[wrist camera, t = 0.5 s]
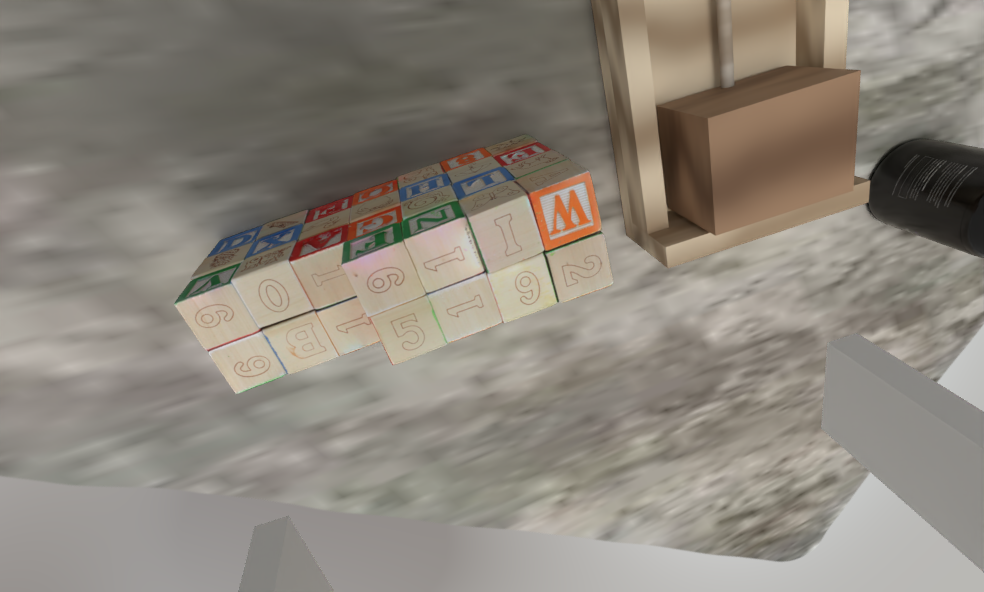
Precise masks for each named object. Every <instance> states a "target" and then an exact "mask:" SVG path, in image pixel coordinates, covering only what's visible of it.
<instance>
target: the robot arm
mask: <svg viewBox="0 0 984 592" xmlns="http://www.w3.org/2000/svg"><path fill="white" fill-rule="evenodd" d="M821 429H822V430H824V431H825V432H826V433H827V434H828V435H829V436H830V437H831V438H833V439H834V440H835V441H836V442H837V443H838V444H839V445H840V446H842V447H843V448H844V449H845V450H846V451H847V452H848V453H849V454H851V455H852V456H853V457H854V458H855V459H856V460H857V461H859V462H860V463H861V464H862V465H863V466H864V467H865V468H866V469H868V470H869V471H870V472H871V473H872V474H873V475H874V476H876V477H877V478H878V479H879V480H880V481H881V482H882V483H883V484H885V485H886V486H887V487H888V488H889V489H890V490H891V491H893V492H894V493H895V494H896V495H897V496H898V497H899V498H900V499H902V500H903V501H904V502H905V503H906V504H907V505H908V506H909V507H911V508H912V509H913V510H914V511H915V512H916V513H917V514H918V515H920V516H921V517H922V518H923V519H924V520H925V521H926V522H928V523H929V524H930V525H931V526H932V527H933V528H934V529H936V530H937V531H938V532H939V533H940V534H941V535H942V536H943V537H944V538H946V539H947V540H948V541H949V542H950V543H951V544H952V545H954V546H955V547H956V548H957V549H958V550H959V551H960V552H961V553H962V554H964V555H965V556H966V557H967V558H968V559H969V560H970V561H972V562H973V563H974V564H975V565H976V566H977V567H978V568H979V569H981V570H982V571H983V572H984V412H983V411H982V410H980V409H978V408H977V407H975V406H973V405H972V404H970V403H969V402H967V401H965V400H964V399H962V398H961V397H959V396H957V395H956V394H954V393H953V392H951V391H949V390H947V389H946V388H945V387H943V386H941V385H940V384H938V383H936V382H935V381H933V380H932V379H930V378H928V377H927V376H925V375H924V374H922V373H920V372H919V371H917V370H915V369H914V368H912V367H911V366H909V365H907V364H906V363H904V362H903V361H901V360H899V359H898V358H896V357H895V356H893V355H891V354H890V353H888V352H886V351H885V350H883V349H882V348H880V347H878V346H877V345H875V344H874V343H872V342H870V341H869V340H867V339H865V338H864V337H862V336H861V335H859V334H857V333H856V334H853V335H850V336H846V337H843V338H840V339H837V340H834V341H831V342H828V343H827V357H826V370H825V384H824V397H823V410H822V424H821ZM238 592H333V588H332V587H331V585H330V584H329V582H328V580H327V579H326V577H325V575H324V574H323V572H322V570H321V569H320V567H319V565H318V564H317V562H316V560H315V559H314V557H313V555H312V554H311V552H310V551H309V549H308V547H307V546H306V544H305V542H304V541H303V539H302V538H301V536H300V534H299V532H298V531H297V529H296V528H295V526H294V524H293V522H292V521H291V519H290V518H289V516H286V517H283V518H280V519H277V520H274V521H271V522H268V523H265V524H261V525H258V526H255V528H254V532H253V535H252V539H251V543H250V547H249V551H248V556H247V560H246V563H245V567H244V571H243V575H242V579H241V583H240V587H239V591H238Z"/></svg>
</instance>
